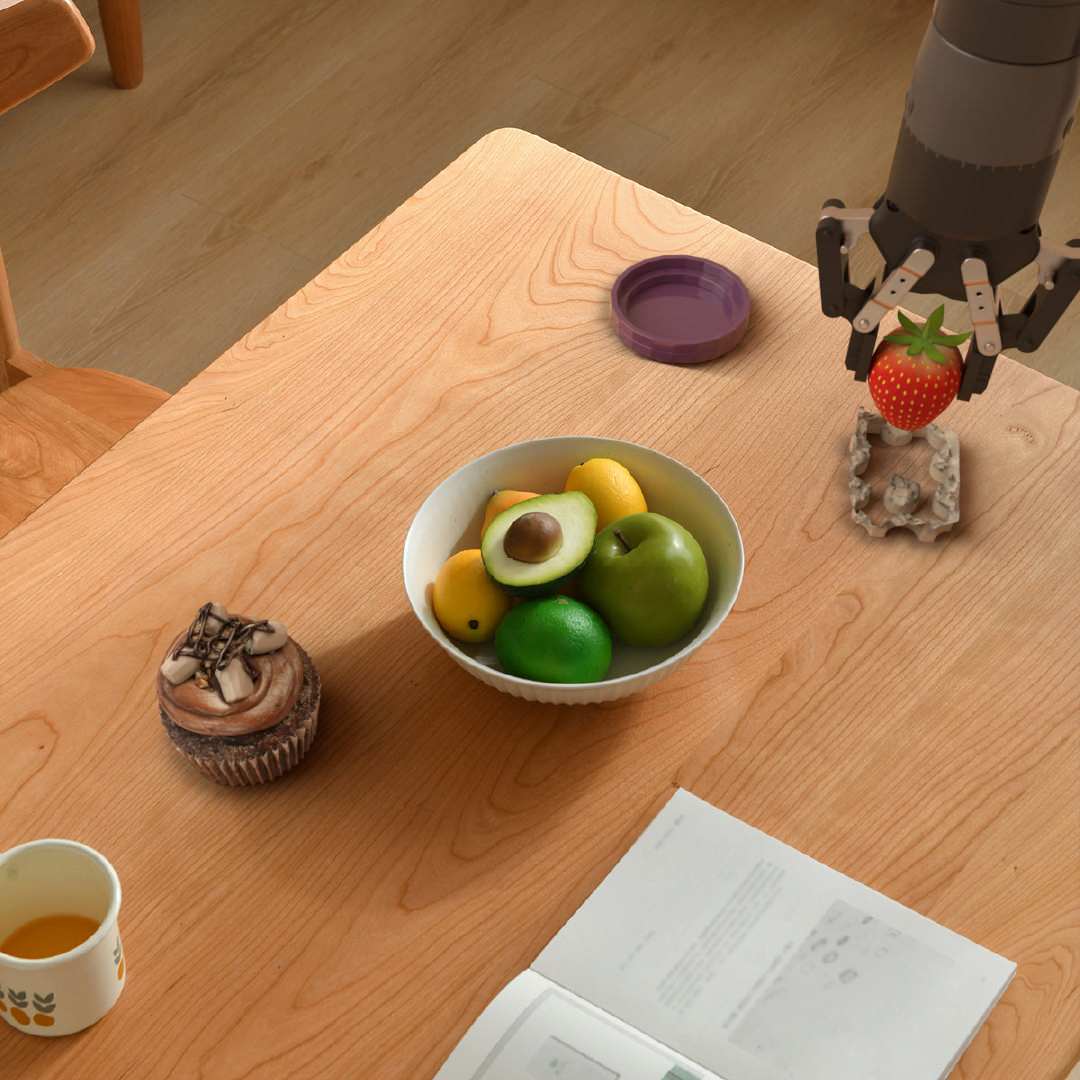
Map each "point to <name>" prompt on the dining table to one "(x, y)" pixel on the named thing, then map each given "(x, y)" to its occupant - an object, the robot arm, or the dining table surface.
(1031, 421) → the dining table surface
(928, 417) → the fruit
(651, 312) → the dish
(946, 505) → the egg carton
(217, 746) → the cupcake
